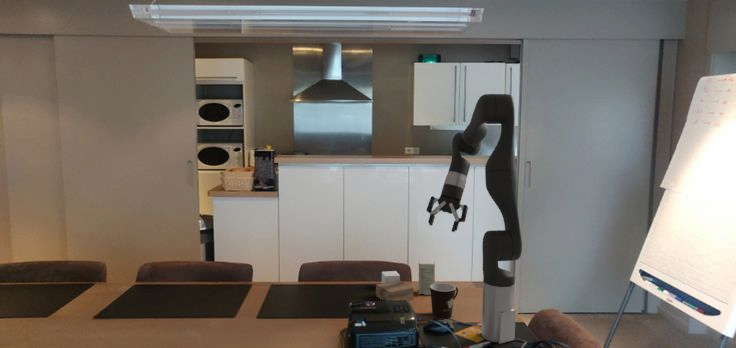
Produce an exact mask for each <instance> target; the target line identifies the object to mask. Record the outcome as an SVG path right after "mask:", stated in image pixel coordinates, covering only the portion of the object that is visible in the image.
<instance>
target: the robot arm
mask: <svg viewBox="0 0 736 348" xmlns="http://www.w3.org/2000/svg"><path fill="white" fill-rule="evenodd" d="M515 104H516V103H515V99H514V97H513V96H512V94H509V93H487V94H483V95H481V96H480V97H479V98H478V100H477V102H476V104H475V107H474V108H473V109H474V110H473V112H472V115H471V119H470V122H469V124H468V125H467V126H466V128H465V129H464V131H463V132H461V131H460V132H459V131H458V132H457V133H456V134H454V136H453V138H452V142H451V160H450V166H449V168H448V170H447V171H448V172H447V174H446V176H445V179H444V182H443V186H442V190H441V193H440V196H439V198H437V197H435V196H433V195H432V196H430V199H429V201H428V204H427V207H426V212H427V213H429V218H428V225H429V226H432V227H433V224H434V222H435V221H434V220H435V218H436V216H435V215H437V214H439V213H440V212H441V211H442V213H448V214H449V215H453V218H454V221H453V224H452V227H451V232H452V233H455V232H456V231H458V228H459V224H460V223H465V222H466V218H467V214H468V210H469V207H468V205H466V204H461V201H462V197H463V194H464V191H465V188H466V184H467V178H468V174H469V171H470V168H471V163H470V161H469V160H467V159H466V158H464V157H463V156H462V155H461V153H462V154H466V155H468V156H476V155H477V154H478V153H479V152H480V150H481V147H482V146H481V145H482V141H483V140H484V139H485V137H486V136H487V134H488V130H489V129H488V125H500V135H499V139H498V141H497V144H496V145H495V147H494V149H493V151H492V152H491V154H490V156H489V157H488V158H487V161H486V164H485V167H484V172H485V173H484V174H485V175H484V176H485V178H484V179H485V187H486V191H487V192H488V195H489V197H490V198H491V199H492V200H493V202H494V203H495V205H496V206H497V208H498V209H499V212H500V214H501V216H502V218H503V224H504V230H503V229H502V230H501V229H500V230H498V229H497V230H496V229H495V230H487V231H485V233H484V234H483V238H482V246H481V247H482V276H483V279H482V280H483V284H482V305H481V337H482V338H483V339H485V340H487V341H489V342H493V343H497V342H498V343H497V344H499V345H500V344H504V343H508V342H511V341H515V339H516V338H515V337H516V336H515V334H516V333H515V332H516V315H517V314H516V312H517V309H515V308H514V302H515V301H514V299H515V298H514V297H515V283H516V282H515V281H516V280H515V279H516V278H515V275H514V273H513V272H511V271H509V270H507V269H503V268H501V267H499V262H511V261H512V262H513V261H518V260H519V259H521V255H522V252H523V243H522V234H521V226H520V217H519V209H518V207H519V206H518V187H517V186H518V183H517V164H516V163H517V162H516V153H515V151H516V150H515V135H516V134H515V133H516V132H515V130H516V128H515V126H516V105H515ZM436 203H437V204H438V205H437V206H436V207H435V208H434V204H436ZM433 208H434V209H433ZM460 208H461V209H460ZM459 209H460V210H461V211H462V212H461V216H460V217H459V215H458V212H457V210H459Z"/></svg>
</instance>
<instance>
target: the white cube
mask: <svg viewBox="0 0 736 348" xmlns="http://www.w3.org/2000/svg"><path fill="white" fill-rule="evenodd" d="M397 280H398V281H400V282H401V275H400V274H399V273H398V272H397V270H392V271H391V270H390V271H387V270H386V271H381V283H386V282H392V281H397Z"/></svg>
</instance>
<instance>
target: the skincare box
mask: <svg viewBox="0 0 736 348" xmlns="http://www.w3.org/2000/svg"><path fill="white" fill-rule="evenodd" d="M435 270H436V263H435V261H434V260H418V295H419V294H424V295H423V296H425V295H427V296H431V292H430V285H432V284H435V282H436V275H435V273H436V271H435Z"/></svg>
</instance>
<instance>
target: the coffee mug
mask: <svg viewBox="0 0 736 348" xmlns="http://www.w3.org/2000/svg"><path fill="white" fill-rule="evenodd" d="M430 292H431V295H430V299H431V300H430V301H431V311H432V317H433V318H435V317H437V318H436V319H438V318H449V319H452V315H453V310H454V309H453V308H454V302H455V299H456V298H457V296H458V293H459V288H458V287H457V286H456V285H453V284H452V283H451V284H450V283H446V282H445V283H444V282H436V283H435V284H432V285H430Z"/></svg>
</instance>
